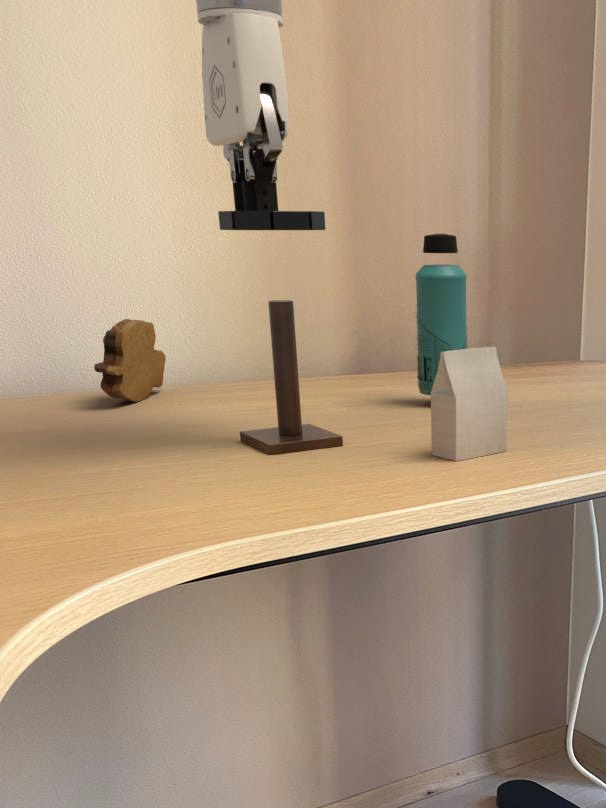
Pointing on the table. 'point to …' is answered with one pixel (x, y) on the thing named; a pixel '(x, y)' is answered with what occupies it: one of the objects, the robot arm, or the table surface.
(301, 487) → the table surface
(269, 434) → the post
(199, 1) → the robot arm
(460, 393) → the grey gabled box
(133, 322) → the wooden carving
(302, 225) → the ring
